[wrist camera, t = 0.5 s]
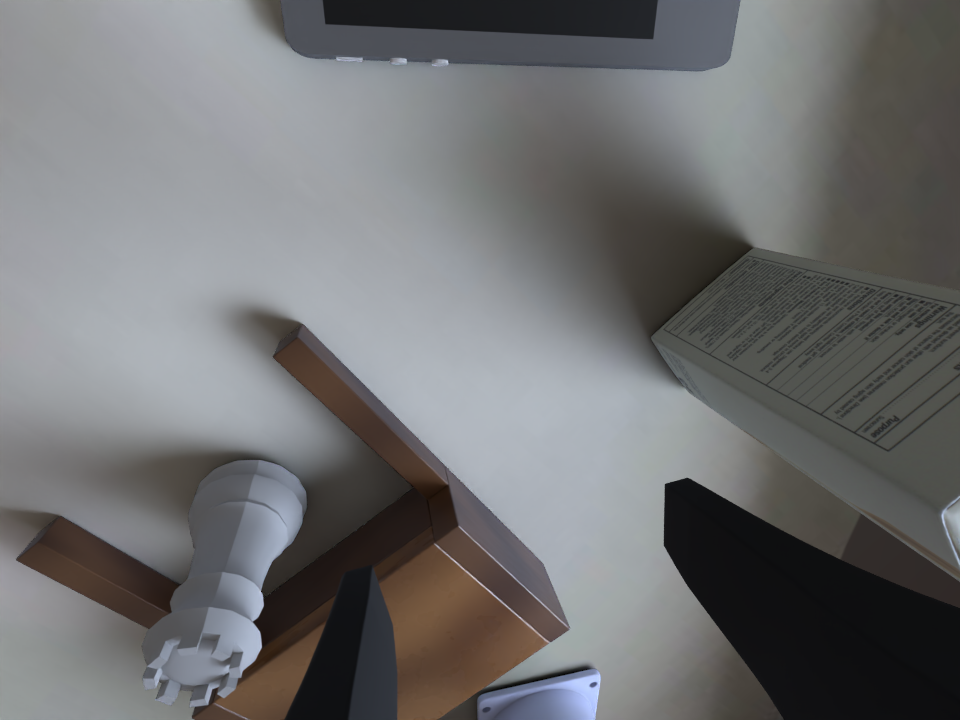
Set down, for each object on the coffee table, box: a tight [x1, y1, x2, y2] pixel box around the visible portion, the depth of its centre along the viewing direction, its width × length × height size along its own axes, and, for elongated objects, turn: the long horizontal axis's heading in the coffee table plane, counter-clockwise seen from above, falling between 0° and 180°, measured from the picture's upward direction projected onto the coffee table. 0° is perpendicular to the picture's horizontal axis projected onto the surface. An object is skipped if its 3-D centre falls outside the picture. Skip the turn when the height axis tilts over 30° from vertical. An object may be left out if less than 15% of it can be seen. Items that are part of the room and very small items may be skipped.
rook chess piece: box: [142, 460, 307, 707], centre depth 17 cm, size 4×4×8 cm
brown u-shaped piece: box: [16, 324, 570, 720], centre depth 21 cm, size 18×14×4 cm
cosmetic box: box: [651, 248, 960, 581], centre depth 17 cm, size 6×4×12 cm
